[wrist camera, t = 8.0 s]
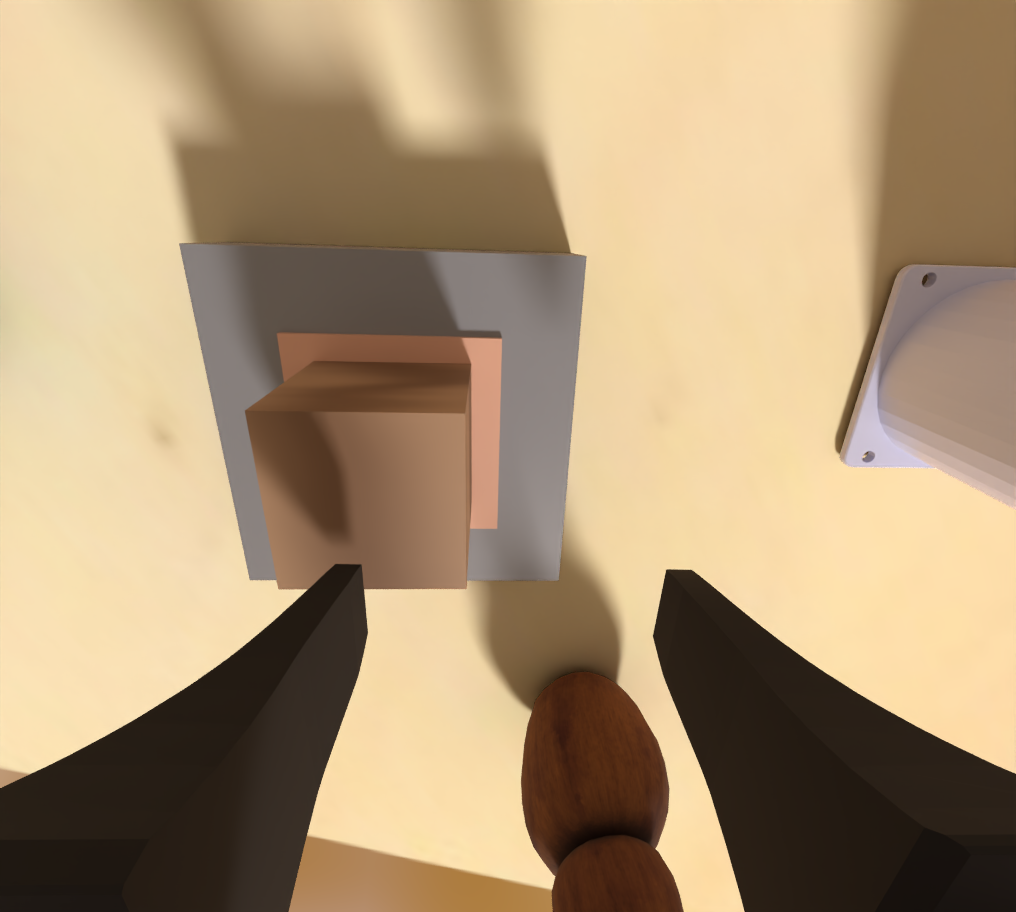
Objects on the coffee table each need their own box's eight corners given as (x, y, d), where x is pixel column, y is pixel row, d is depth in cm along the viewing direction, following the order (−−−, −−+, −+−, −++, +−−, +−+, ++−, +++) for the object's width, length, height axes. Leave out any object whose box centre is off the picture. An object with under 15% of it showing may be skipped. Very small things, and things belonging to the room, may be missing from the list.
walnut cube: (471, 363, 16) (464, 413, 12) (471, 500, 18) (466, 588, 14) (313, 361, 16) (244, 410, 12) (331, 499, 18) (278, 589, 14)
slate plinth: (571, 253, 18) (587, 256, 15) (550, 539, 23) (559, 583, 20) (227, 242, 18) (174, 243, 15) (279, 537, 22) (247, 583, 19)
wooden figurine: (549, 639, 25) (624, 1122, 11) (652, 666, 26) (834, 1140, 12) (502, 730, 28) (517, 1217, 14) (598, 751, 29) (700, 1227, 15)
